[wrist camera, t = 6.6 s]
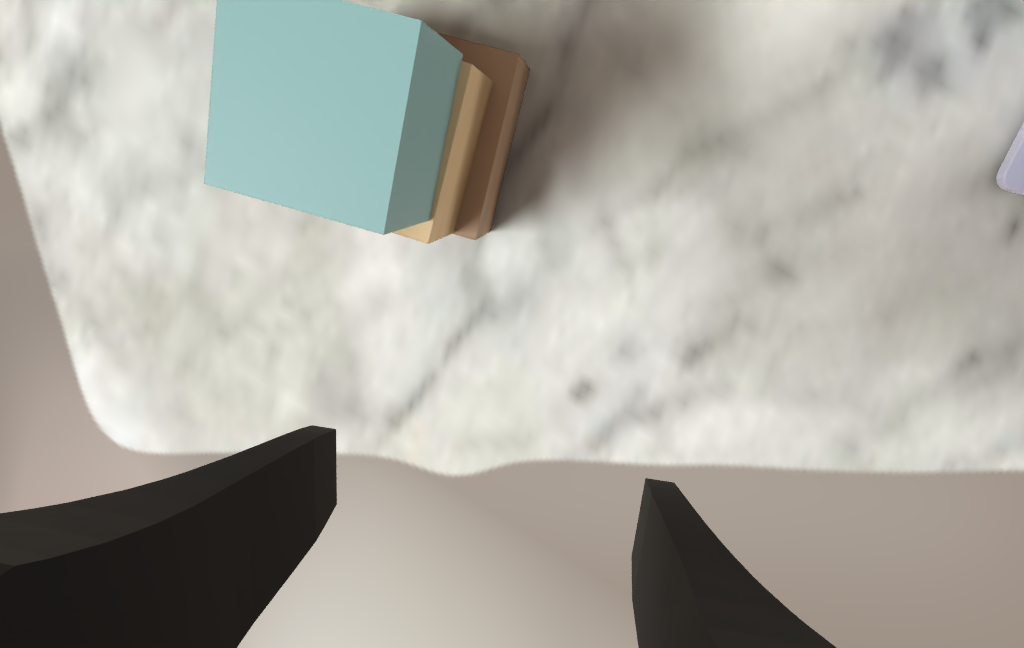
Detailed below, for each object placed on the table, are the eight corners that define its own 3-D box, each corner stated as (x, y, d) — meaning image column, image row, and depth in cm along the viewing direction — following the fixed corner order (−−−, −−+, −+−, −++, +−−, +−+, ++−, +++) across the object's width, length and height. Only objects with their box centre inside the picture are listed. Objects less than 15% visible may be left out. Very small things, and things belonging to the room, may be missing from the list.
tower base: (531, 70, 20) (519, 54, 17) (491, 230, 22) (474, 240, 19) (376, 30, 20) (340, 7, 17) (351, 190, 22) (313, 193, 19)
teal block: (462, 54, 14) (421, 20, 11) (429, 220, 16) (383, 234, 12) (305, 14, 15) (219, -31, 11) (286, 180, 16) (203, 183, 13)
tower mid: (493, 81, 17) (472, 64, 14) (454, 232, 19) (427, 243, 16) (347, 37, 18) (298, 12, 15) (320, 189, 19) (271, 192, 16)
